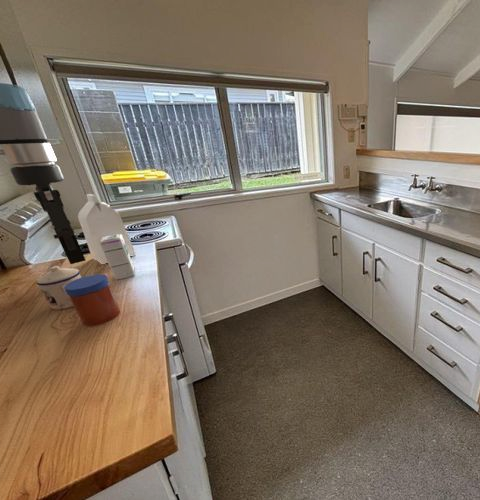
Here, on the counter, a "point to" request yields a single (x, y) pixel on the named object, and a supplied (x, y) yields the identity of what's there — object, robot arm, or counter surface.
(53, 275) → the teacup with lid
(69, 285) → the jam lid
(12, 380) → the counter surface
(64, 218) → the robot arm
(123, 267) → the syrup box
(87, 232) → the milk
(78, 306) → the jam jar
